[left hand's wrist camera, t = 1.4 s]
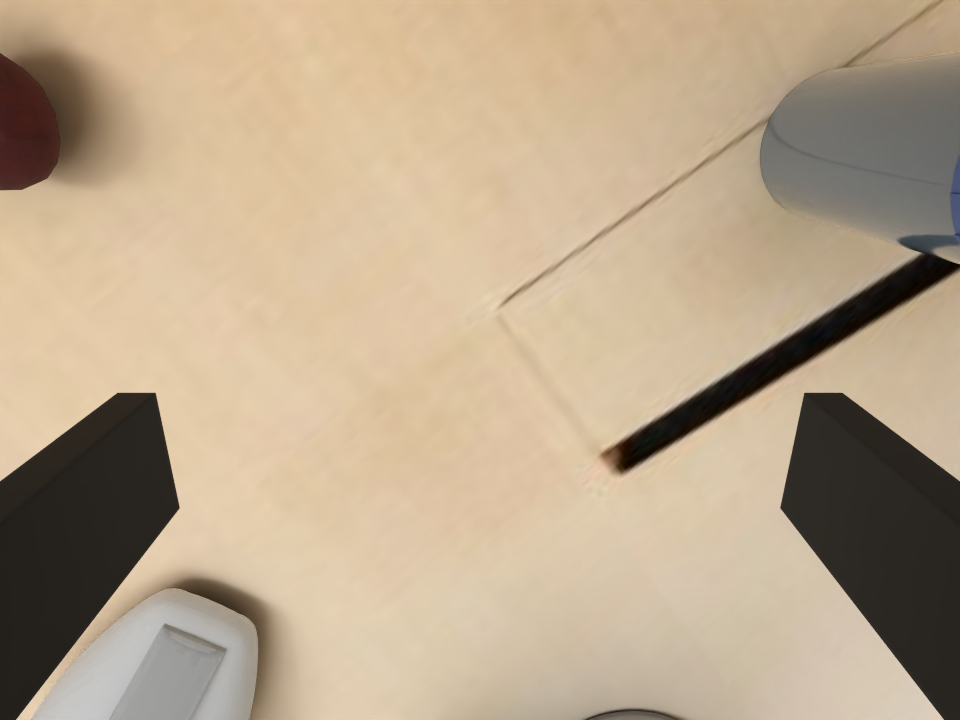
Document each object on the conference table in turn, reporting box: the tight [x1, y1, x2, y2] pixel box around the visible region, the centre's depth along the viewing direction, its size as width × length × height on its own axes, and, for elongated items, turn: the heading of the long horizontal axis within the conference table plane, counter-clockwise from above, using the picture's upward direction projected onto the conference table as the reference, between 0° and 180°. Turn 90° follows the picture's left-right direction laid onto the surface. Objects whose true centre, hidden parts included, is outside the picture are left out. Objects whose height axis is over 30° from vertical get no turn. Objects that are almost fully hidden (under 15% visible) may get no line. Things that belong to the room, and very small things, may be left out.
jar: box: [760, 51, 960, 264], centre depth 29 cm, size 9×9×18 cm
